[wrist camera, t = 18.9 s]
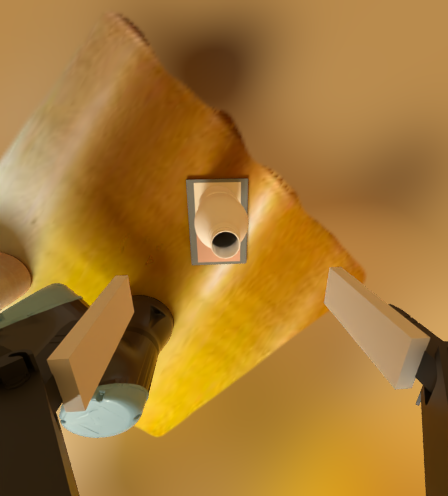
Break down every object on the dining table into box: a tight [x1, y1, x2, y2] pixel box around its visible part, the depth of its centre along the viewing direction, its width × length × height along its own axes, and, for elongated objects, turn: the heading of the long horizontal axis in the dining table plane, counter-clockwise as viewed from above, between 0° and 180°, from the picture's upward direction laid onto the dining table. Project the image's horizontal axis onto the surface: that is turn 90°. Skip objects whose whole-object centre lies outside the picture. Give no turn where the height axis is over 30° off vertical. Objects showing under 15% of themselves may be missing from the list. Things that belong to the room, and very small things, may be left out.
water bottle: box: [194, 186, 248, 259], centre depth 35 cm, size 7×7×25 cm
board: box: [186, 178, 248, 265], centre depth 48 cm, size 12×18×1 cm, turn 1°
